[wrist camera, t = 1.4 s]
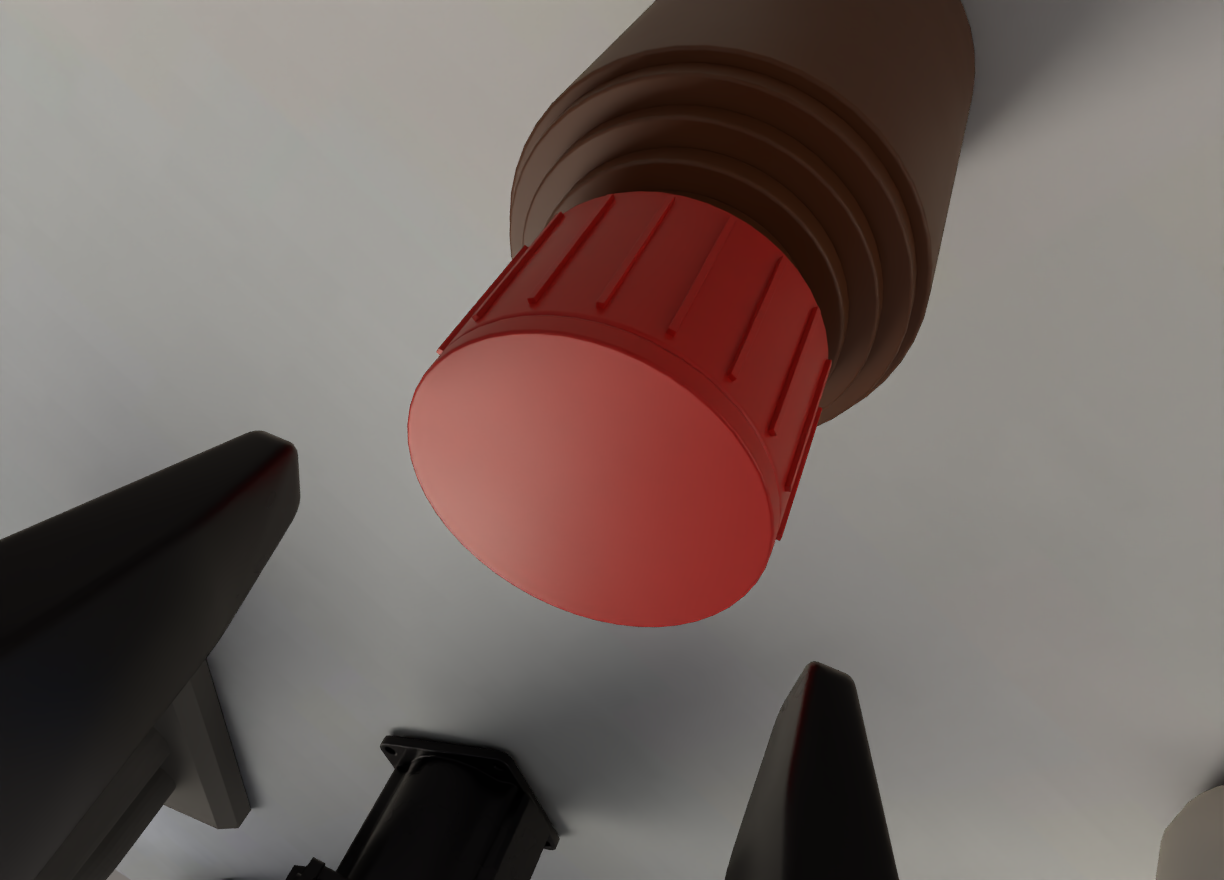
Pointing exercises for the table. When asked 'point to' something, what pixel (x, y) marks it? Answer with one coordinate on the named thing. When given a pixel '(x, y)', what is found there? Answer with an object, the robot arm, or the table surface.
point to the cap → (627, 411)
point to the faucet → (160, 786)
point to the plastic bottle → (1195, 840)
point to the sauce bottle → (781, 148)
